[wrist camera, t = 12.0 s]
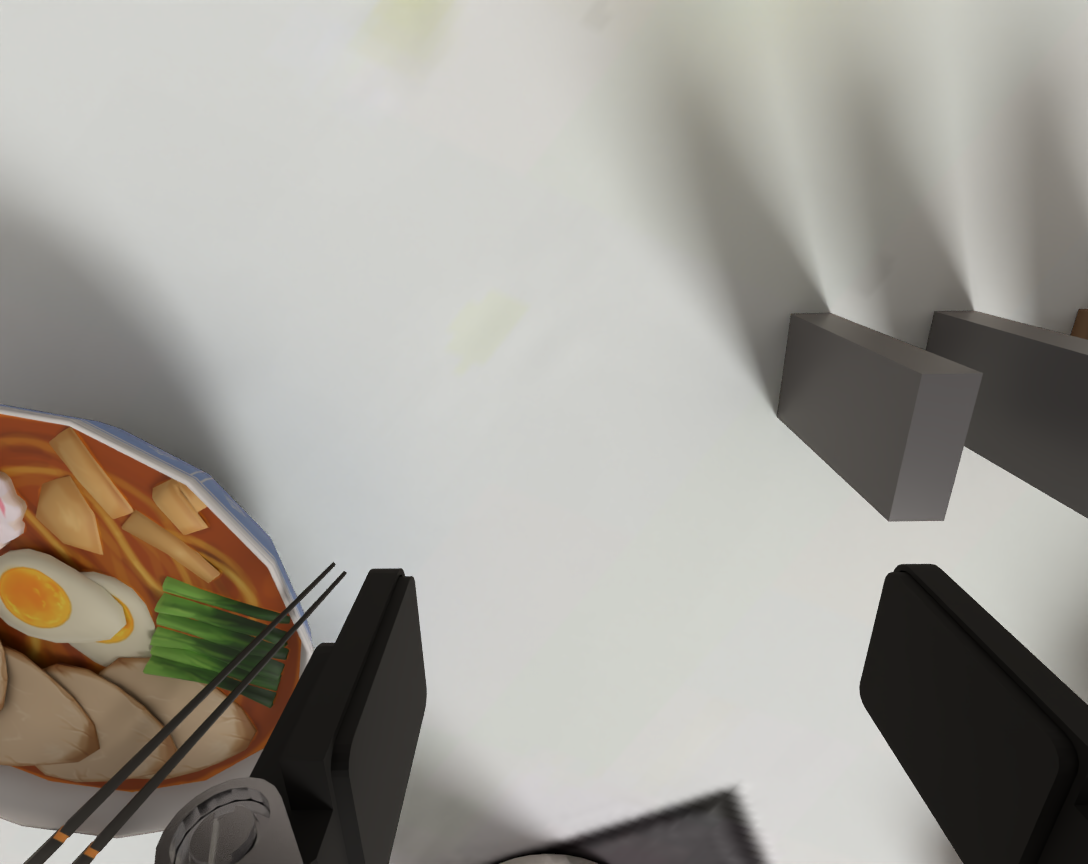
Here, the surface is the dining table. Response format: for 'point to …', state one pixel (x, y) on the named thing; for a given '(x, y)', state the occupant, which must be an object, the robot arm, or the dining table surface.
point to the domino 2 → (1024, 399)
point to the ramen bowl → (130, 632)
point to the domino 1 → (878, 412)
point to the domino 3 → (1081, 325)
